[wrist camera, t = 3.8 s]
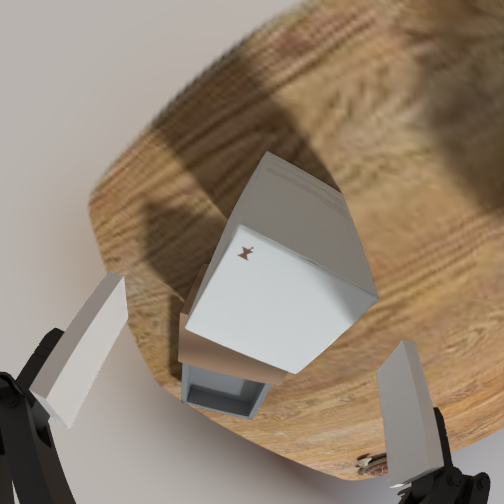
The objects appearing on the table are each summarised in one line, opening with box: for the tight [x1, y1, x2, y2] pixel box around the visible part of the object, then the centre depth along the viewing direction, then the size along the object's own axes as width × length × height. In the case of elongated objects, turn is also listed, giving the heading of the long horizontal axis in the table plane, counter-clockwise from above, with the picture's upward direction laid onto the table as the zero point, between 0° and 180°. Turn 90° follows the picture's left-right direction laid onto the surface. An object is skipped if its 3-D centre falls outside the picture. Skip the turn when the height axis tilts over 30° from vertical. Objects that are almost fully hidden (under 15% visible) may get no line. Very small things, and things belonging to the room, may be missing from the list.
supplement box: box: [185, 151, 379, 374], centre depth 19 cm, size 7×7×13 cm
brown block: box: [178, 263, 288, 386], centre depth 27 cm, size 7×10×7 cm
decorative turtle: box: [357, 457, 388, 476], centre depth 54 cm, size 18×17×5 cm
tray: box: [181, 363, 272, 420], centre depth 36 cm, size 17×11×3 cm, turn 168°
